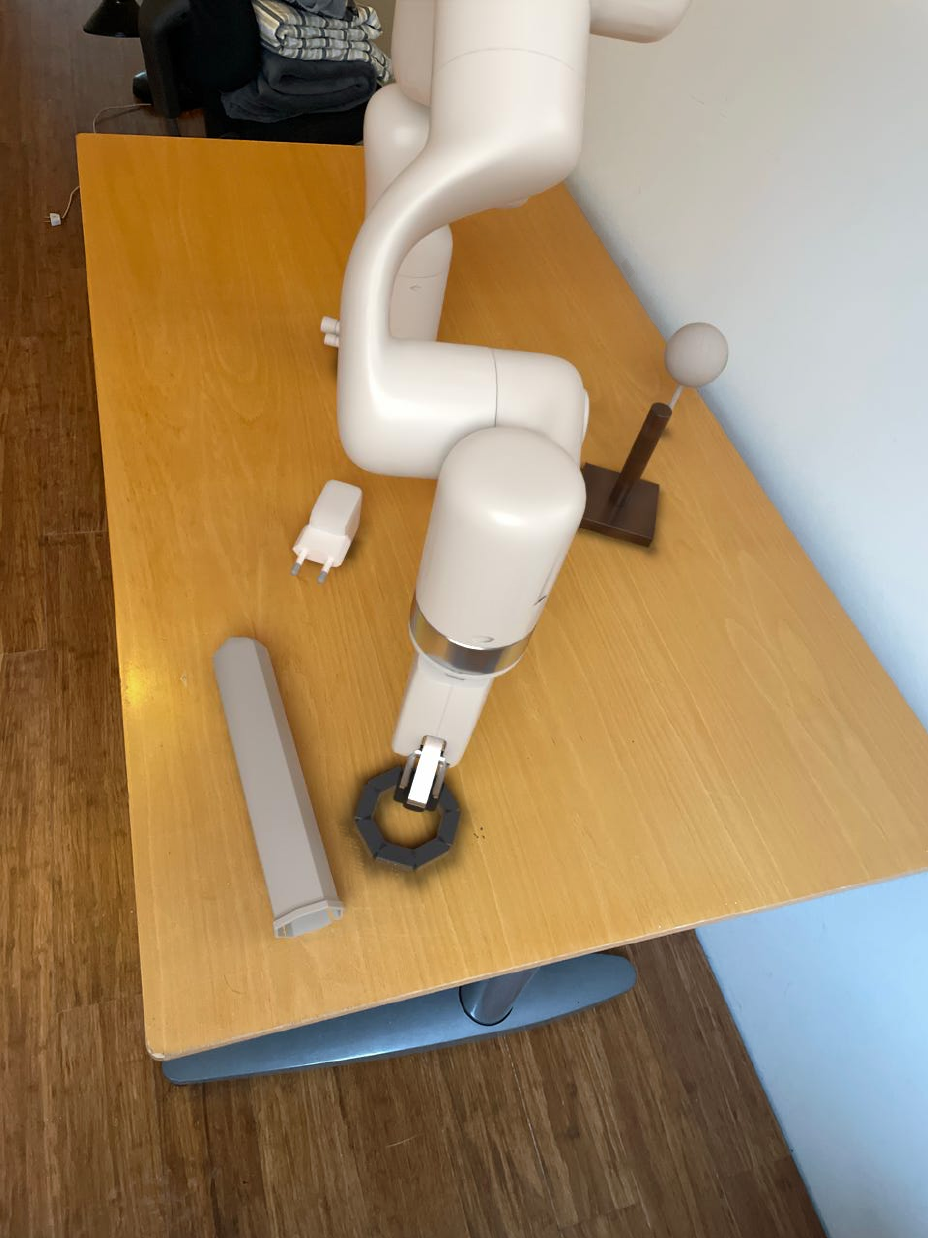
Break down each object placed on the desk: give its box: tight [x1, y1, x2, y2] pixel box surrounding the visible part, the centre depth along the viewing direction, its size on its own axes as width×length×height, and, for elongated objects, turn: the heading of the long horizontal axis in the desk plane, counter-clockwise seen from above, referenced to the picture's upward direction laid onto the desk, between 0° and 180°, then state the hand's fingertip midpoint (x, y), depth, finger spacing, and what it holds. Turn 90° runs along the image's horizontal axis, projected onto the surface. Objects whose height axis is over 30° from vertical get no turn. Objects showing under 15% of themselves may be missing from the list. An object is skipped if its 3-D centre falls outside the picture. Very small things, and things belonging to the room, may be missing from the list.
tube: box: [211, 636, 345, 939], centre depth 65 cm, size 5×5×25 cm
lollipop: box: [663, 322, 729, 411], centre depth 97 cm, size 7×7×15 cm
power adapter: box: [289, 479, 363, 585], centre depth 79 cm, size 11×5×6 cm, turn 166°
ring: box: [353, 764, 462, 874], centre depth 66 cm, size 8×8×1 cm
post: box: [578, 401, 673, 549], centre depth 87 cm, size 9×9×14 cm
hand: (430, 746), depth 63 cm, fingers open, 9 cm apart
